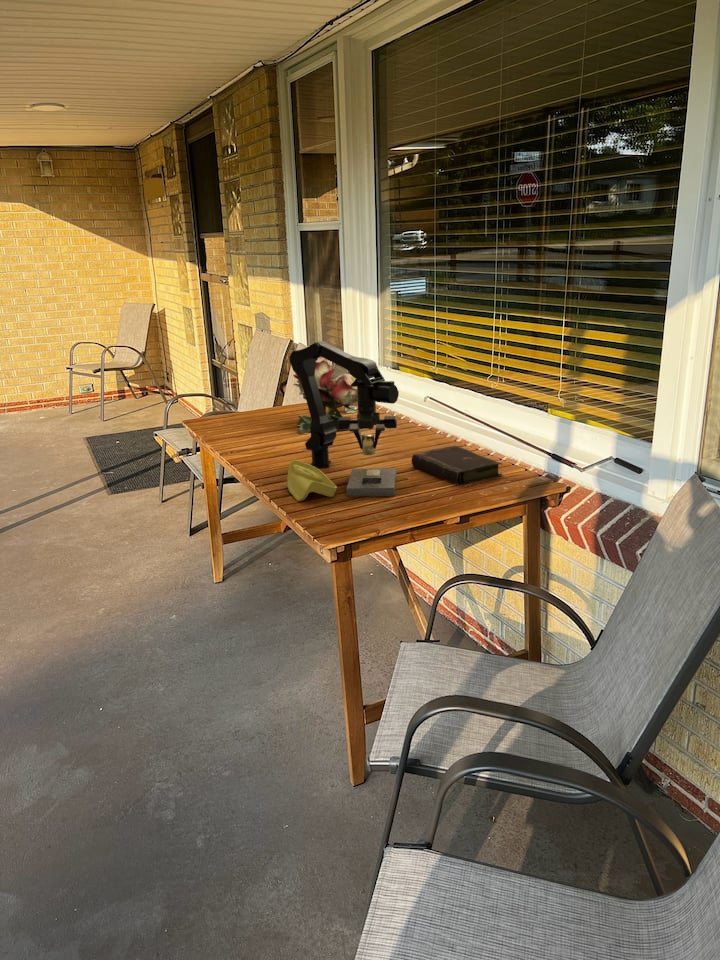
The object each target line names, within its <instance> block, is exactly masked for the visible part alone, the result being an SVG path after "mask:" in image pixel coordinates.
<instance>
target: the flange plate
mask: <svg viewBox="0 0 720 960" xmlns="http://www.w3.org/2000/svg"><path fill="white" fill-rule="evenodd" d="M396 482H397V468H396V467H393V468H392V467H388V468H381V467H380V468H373V467H372V468H352V469H351V472H350V475H349V479H348V482H347V485H346V497H394V496H395V495H394V494H396V485H397V483H396Z"/></svg>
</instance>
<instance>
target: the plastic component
mask: <svg viewBox="0 0 720 960" xmlns="http://www.w3.org/2000/svg"><path fill="white" fill-rule="evenodd" d="M288 466H289V467H288V470H287V471H288V472H287V479H286V485H287V490H288V491H289V493H290V494H291V495H292V497H293V498H294V499H295V500H296V501H298V502H303V501H304V500H306V498H307V497H308V495H309V494H310V493H315V494H318V495H322V496H325V497H327V498H328V497H329V498H333V497H334V496H335V494H336V491H337V489H338V485H336V484H335V483H334V482H333V481H332V480H331V479H330V478H329V476H328V475H326V474H325V473H324V472H323V471H321V470H320V469H319V468H318V467H314V466H312V465H311V464H309V463H307V462H304V461H301V460H298V459H292V460H291V462H290V464H289V465H288Z"/></svg>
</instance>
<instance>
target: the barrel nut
mask: <svg viewBox="0 0 720 960" xmlns="http://www.w3.org/2000/svg"><path fill="white" fill-rule="evenodd" d="M361 439H362V449H361V455H364V456H373V455H375V453H376V452H375V450H376V449H374V441H375V434H373V433H364V434H361Z"/></svg>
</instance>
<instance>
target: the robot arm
mask: <svg viewBox="0 0 720 960" xmlns="http://www.w3.org/2000/svg"><path fill="white" fill-rule="evenodd" d="M320 356H321V357H323V358H325V359H327V360H328V362H330V363H332V364H335V365H337V366H340V367H341V368H343V369H345V370H346V371H347V372H348V374H350V375H351V376H353V377H354V378H356V379H355V381H354V382H353V383H352V384H351V386H354V387H357V401H358V405H357V414H356V419H352V417H351V416H344V417H340V418H339V419H338V422H337V429H348V428H349V427H350V429H349V430H348V431H349V432H352V433H353V434H354V436H355V437H356V440H357V443H358V446H359V448H360V450H362V432H361V430H363V429H365V430H367V429H368V430H371V429H374V427H375V431H374V432H375V433H374V449H375V450H376V448H377V445H378V441H379V438H380V436H381V433H382V432H384V431H386V429H397V427H398V417H397V416H396V415H385V416H384V418H382V419H381V417H380V412H377V406H376V405H377V403H381V404H382V403H384V404H395V403H397V401H398V399H399V395H400V394H399V392H400V391H399V390H398V387H397V385H396V384H395V381H394V380H389V381H388V380H387V381H386V379H385V377H384V376H383V374H382V373H381V371H380V370H379V368H378V366H377V362H376V361H374V360H373V359H369V358H365V357H359V356H358V357H357V356H354V355H352V354H349V353H348V352H345V351H344V350H342V349H339V348H337V347H335V346H334V345H331V344H329V343H328V342H326V341H325V340H324V341H323V340H322V341H317V342H314V343H312V344H310V345H308V346H306V347H304V348H301V349H296V350H293V351H292V352H291V353H290V355H289V357H288V358H289V363H290V365H291V368H292V370H293V372H294V373H295V375H296V374H297V375H298V376H299V378H300V380H301V383H302V387H303V391H304V394H305V398H306V400H305V401H306V404H307V407H308V412H309V415H310V416H309V417H311V419H312V421H311V427H310V433H311V435H310V437H309V438H308V440H306V442H305V443H304V446H305V448H306V450H309V451H311V463H310V465H312V466H314V467H316V468H330V467H331V466H330V465H331V464H332V461H331V460H330V457H329V456H330V455H329V454H330V453H329V447H331V446H333V445H334V442H335V440H336V438H337V432H338V431H337V429H336V427H335V423H334V420H329V419H328V418H327V417H326V414H325V411H324V407H323V404H322V400H321V396H320V393H319V389H318V385H317V382H316V378H315V369H316V360H315V359H317V358H319V357H320Z"/></svg>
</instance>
